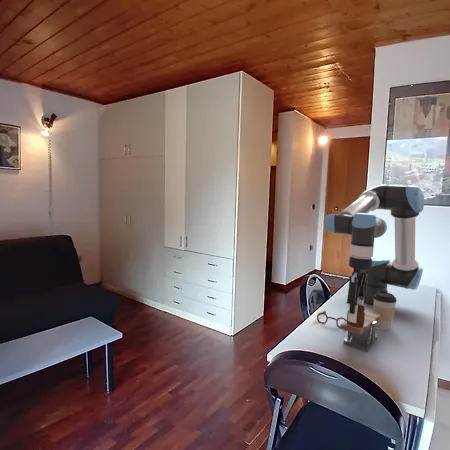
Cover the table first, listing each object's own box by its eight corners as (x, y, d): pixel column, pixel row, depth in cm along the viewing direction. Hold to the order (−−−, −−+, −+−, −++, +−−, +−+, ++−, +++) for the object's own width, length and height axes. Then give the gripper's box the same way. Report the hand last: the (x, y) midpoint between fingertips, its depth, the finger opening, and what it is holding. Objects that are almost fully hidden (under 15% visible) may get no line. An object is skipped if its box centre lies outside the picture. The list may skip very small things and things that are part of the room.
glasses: (316, 322, 145) (316, 312, 145) (325, 313, 156) (325, 303, 156) (346, 331, 138) (347, 319, 138) (353, 321, 149) (354, 310, 148)
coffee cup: (396, 332, 138) (400, 298, 136) (373, 329, 139) (376, 295, 138) (390, 323, 146) (393, 291, 145) (368, 321, 148) (371, 289, 146)
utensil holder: (352, 328, 115) (356, 294, 114) (342, 321, 122) (345, 289, 120) (367, 327, 117) (370, 294, 116) (356, 320, 123) (359, 289, 122)
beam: (364, 312, 139) (364, 308, 139) (382, 317, 135) (382, 313, 135) (339, 328, 118) (340, 324, 118) (359, 335, 114) (360, 330, 113)
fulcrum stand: (353, 333, 135) (355, 311, 134) (377, 341, 129) (380, 318, 128) (342, 343, 126) (344, 319, 125) (368, 352, 120) (370, 327, 119)
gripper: (359, 251, 126) (353, 309, 129) (340, 258, 112) (334, 323, 114) (379, 254, 121) (373, 314, 124) (363, 262, 107) (356, 330, 109)
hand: (355, 319), depth 119 cm, fingers closed on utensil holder, 6 cm apart
